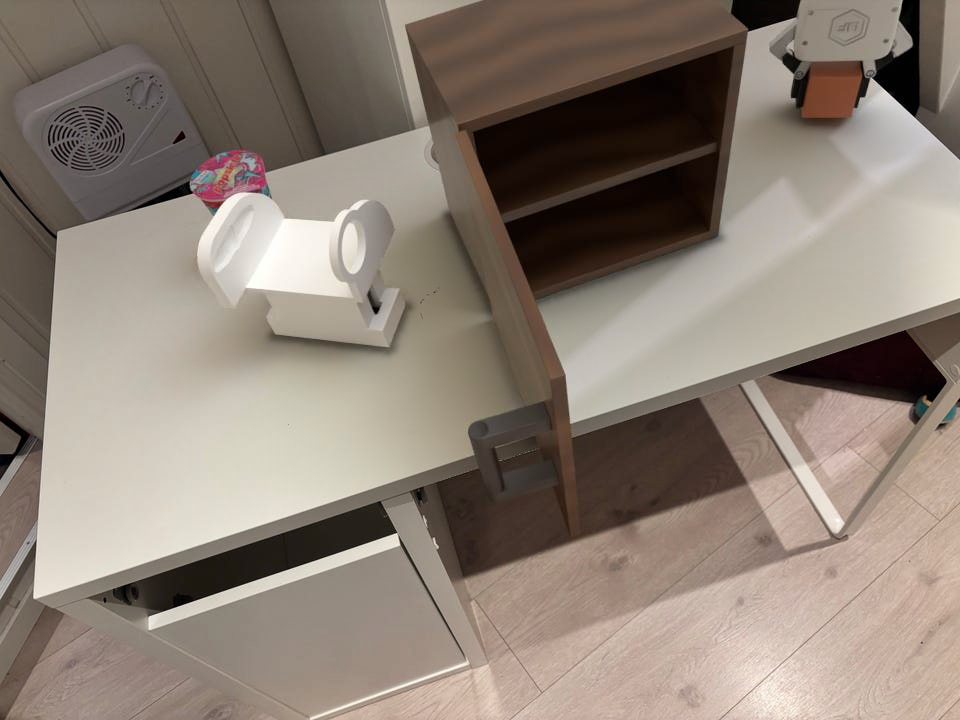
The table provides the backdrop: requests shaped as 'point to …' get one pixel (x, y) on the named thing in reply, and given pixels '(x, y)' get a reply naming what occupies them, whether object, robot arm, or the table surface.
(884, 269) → the table surface
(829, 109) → the block
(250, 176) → the cup
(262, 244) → the tape dispenser
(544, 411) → the cupboard door
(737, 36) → the cupboard
